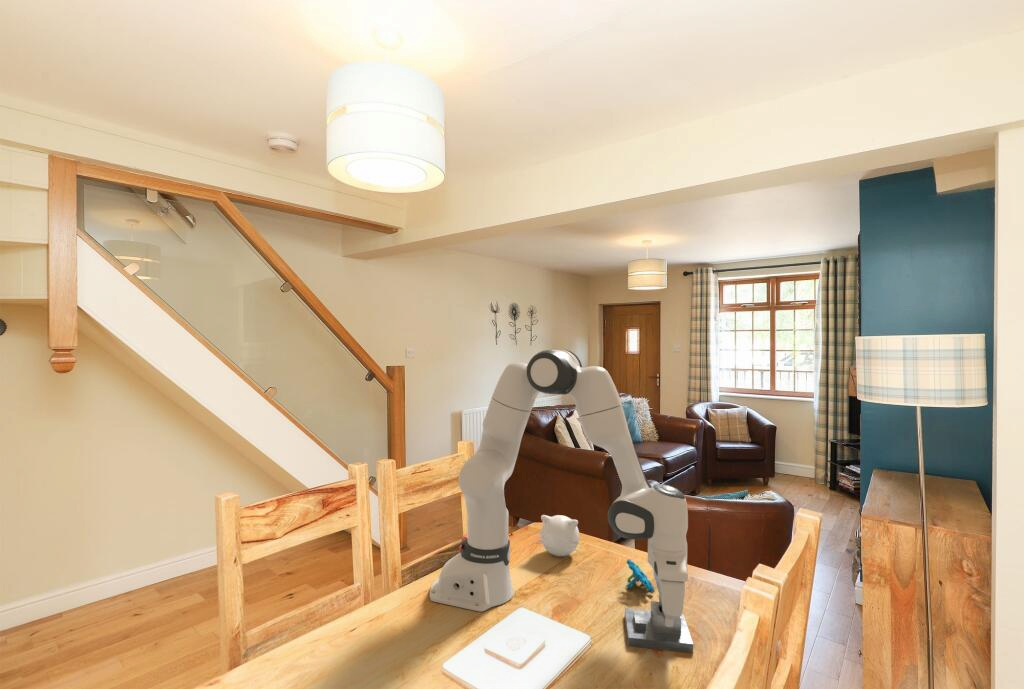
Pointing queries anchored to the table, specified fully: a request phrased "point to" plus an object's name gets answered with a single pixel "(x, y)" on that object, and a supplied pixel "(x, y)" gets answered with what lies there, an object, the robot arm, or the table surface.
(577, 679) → the table surface
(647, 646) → the shaft stand
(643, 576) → the gear
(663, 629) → the collar
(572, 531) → the cat head
